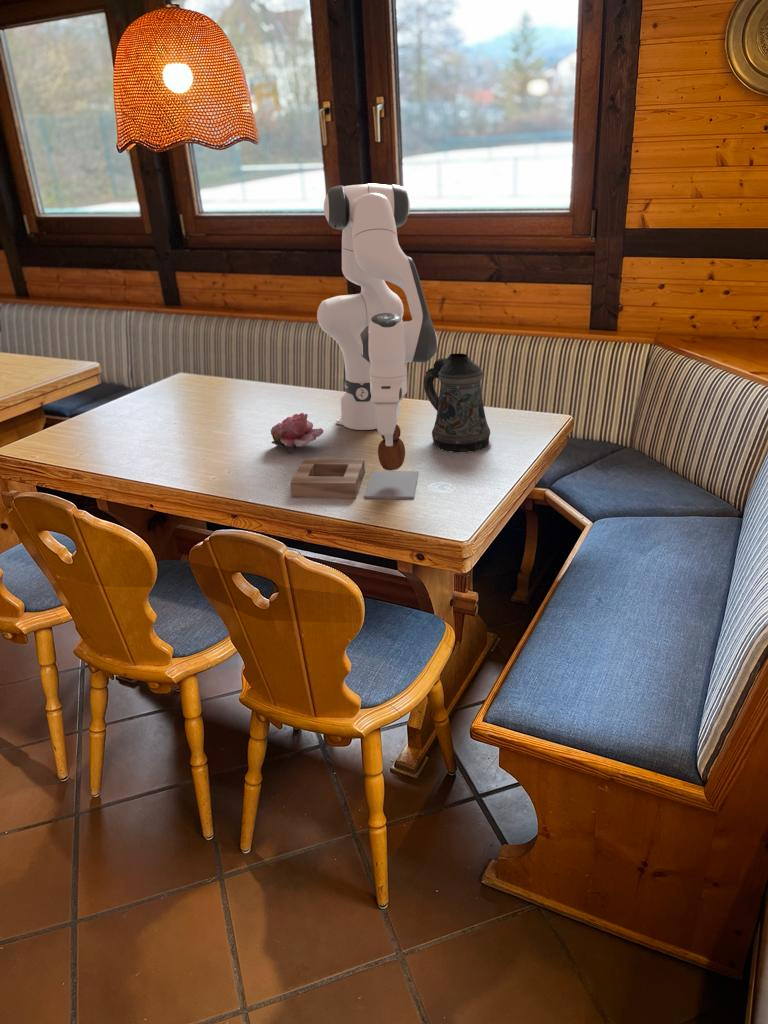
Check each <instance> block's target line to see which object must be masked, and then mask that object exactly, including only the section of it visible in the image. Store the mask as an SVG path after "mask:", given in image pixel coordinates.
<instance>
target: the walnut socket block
mask: <svg viewBox="0 0 768 1024" xmlns="http://www.w3.org/2000/svg"><path fill="white" fill-rule="evenodd" d="M299 464H300V465H298V468H297V470H296V472H294V475H293V476H292V479H291V480H290V483H289V485H290V494H291V495H290V496H291V498H297V499H300V498H304V499H307V498H308V499H313V498H314V499H315V498H316V499H317V498H318V499H357V497H358V495H359V492H360V489H361V486H362V482H363V481H364V477H365V474H366V463H365V458H321V457H320V458H312V457H309V458H307V457H306V458H303V459H302V461H301V463H299Z"/></svg>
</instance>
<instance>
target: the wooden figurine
mask: <svg viewBox="0 0 768 1024" xmlns="http://www.w3.org/2000/svg"><path fill="white" fill-rule="evenodd" d="M380 436H381V438H382V440H381V441H380V442H379V443H378V446H377V457H378V459H379V461H378V462H379V463H380V465H381V468H383V469H384V471H397V470H398V469H400V468H401V467H402V466H403V464H404V462H405V457H406V448H405V444H404V441H403V439H401V438H400V437H401V428H400V425H398V424H396V427H395V431H394V434H393V446H386V445H385V437H384V435H380Z"/></svg>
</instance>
